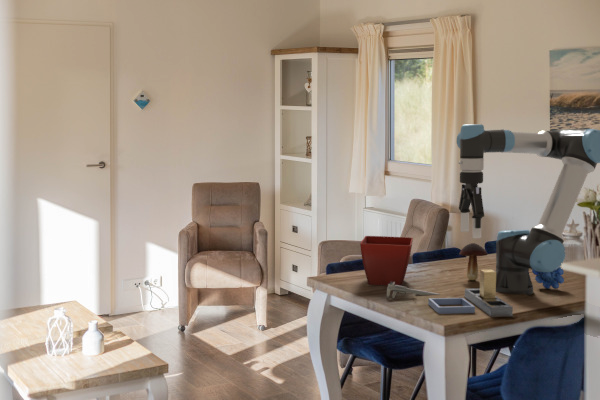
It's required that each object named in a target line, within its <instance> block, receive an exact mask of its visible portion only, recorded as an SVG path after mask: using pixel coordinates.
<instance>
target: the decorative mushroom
mask: <svg viewBox="0 0 600 400" xmlns="http://www.w3.org/2000/svg"><path fill="white" fill-rule="evenodd" d="M459 251H460V252H459V254H458V255H460V256H464V257H468V263H467V270H466V276H467V279H468V281H476V280H478V277H479V268H478V267H479V266H478V264H479V263H478V257H484V256H487V255H488V252H487V249H485V248H484V247H482V246H481V245H479V244H477V243H475V242H474V243H473V242H472V243H468V244H467V245H464V247H463V248H461V250H459Z"/></svg>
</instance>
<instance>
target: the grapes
mask: <svg viewBox="0 0 600 400" xmlns="http://www.w3.org/2000/svg"><path fill="white" fill-rule="evenodd" d="M561 268H562V267H561V266H560V267H559V268H558V269H556V270H554V271H552V272H539V271H536V270H533V269H531V272H532V273H533V275H535V278H534V279H535V282H536V283H538V284H542V286H543V288H544V289H548V290H549V289H551V288H552V289H555V290H556V289H559V287H560V284H561V285H562V284H563V283H564V282H565V278H564V277H563V276H562V275H564V274H565V273H564V269H563V268H562V269H561Z"/></svg>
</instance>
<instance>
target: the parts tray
mask: <svg viewBox="0 0 600 400" xmlns="http://www.w3.org/2000/svg"><path fill="white" fill-rule="evenodd" d="M427 304H428V306H429V307H430V308H431V309H433V311H435V312H436V313H437V314H438V315H439V314H442V315H443V314H446V315H447V314H475V313H476V312H475V311H476V307H475V306H476V305H474V304H473V303H472V302H470V301H469V300H468V299H466V298H465V297H443V298H442V297H438V298H433V297H432V298H429V297H428V302H427ZM447 305H448V306H447ZM449 305H451V306H449ZM452 305H455V306H452ZM456 305H459V306H456ZM460 305H461V306H460Z"/></svg>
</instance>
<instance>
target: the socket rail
mask: <svg viewBox="0 0 600 400" xmlns="http://www.w3.org/2000/svg"><path fill="white" fill-rule="evenodd" d="M464 299H465V300H467V301H468V302H469V303H471V304H472V305H473V306H476V307H477V308H478V309H480V310H481V311H483V313H485V314H487V316H489V317H492V318H495V317H496V318H497V317H498V318H499V317H500V318H501V317H513V309H514V308H513V306H512V305H510V304H509V303H508V302H506V301H504V300H503V299H501V298H500V297H498V296H497V295H496V296H495V299H481V298H480V287H479V288H464Z"/></svg>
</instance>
